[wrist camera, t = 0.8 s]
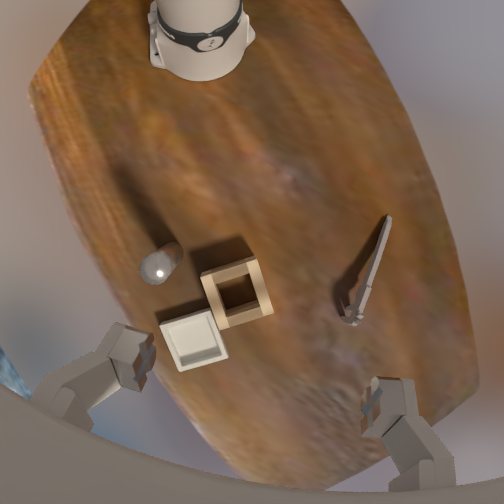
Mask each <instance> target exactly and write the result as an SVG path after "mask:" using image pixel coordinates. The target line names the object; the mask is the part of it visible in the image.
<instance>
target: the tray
mask: <svg viewBox="0 0 504 504" xmlns="http://www.w3.org/2000/svg"><path fill="white" fill-rule="evenodd" d="M160 328H161V331H162V333H163V336H164V338H165V340H166V343H167V345H168V347H169V350H170V352H171V354H172V357H173V359H174V361H175V363H176V365H177V368H178V370H179V372H180V371H184V370H188V369H192V368H195V367H199V366H202V365H206V364H209V363H213V362H216V361H220V360H223V359H226V358H228V351H227V349H226V346H225V344H224V341H223V338H222V336H221V333H220V330H219V328H218V325H217V322H216V320H215V317H214V314H213V312H212V309H211V307H209V308H206V309H202V310H199V311H196V312H193V313H190V314H186V315H183V316H180V317H176V318H173V319H170V320H167V321H163V322H161V324H160Z"/></svg>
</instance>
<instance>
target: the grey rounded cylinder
mask: <svg viewBox="0 0 504 504" xmlns="http://www.w3.org/2000/svg"><path fill="white" fill-rule="evenodd" d="M183 254H184V252H183V248H182V247H181V245H180V244H178V243H176V242H169V243H167V244H165V245H164V246H162V247H161V248H159V249H158V250H156V251H154V252H153V253H151V254H150V255H148V256H147V257H145V258H144V259H143V261H142V262H141V265H140V273H141V276H142V277H143V279H144V280H145V281H146V282H148V283H150V284H154V285H156V284H161V283H163V282H164V281H165V280H166V279H167V278H168V276H169V275H170V274H171V272H172V271H173V270H174V269H175V267H176V266H177V265H178V263H179V262H180V261H181V260H182V258H183Z"/></svg>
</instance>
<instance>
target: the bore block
mask: <svg viewBox="0 0 504 504" xmlns="http://www.w3.org/2000/svg"><path fill="white" fill-rule="evenodd" d="M248 273H249V275H250V278H251V281H252V284H253V287H254V290H255V293H256V296H257V299H258V300H255V301H252V302H249V303H246V304H243V305H240V306H237V307H233V308H230V309H227V310H226V309H225V306H224V303H223V301H222V298H221V295H220V292H219V289H218V286H217V283H220V282H223V281H227V280H230V279H233V278H236V277H239V276H242V275H245V274H248ZM200 278H201V281H202V284H203V287H204V290H205V292H206V295H207V298H208V301H209V303H210V306H211V309H212V312H213V314H214V317H215V320H216V322H217V325H218V328H219V330H222V329H226V328H229V327H232V326H235V325H238V324H241V323H244V322H248V321H251V320H254V319H257V318H260V317H263V316H266V315H269V314H272V313H274V311H273V308H272V305H271V302H270V299H269V296H268V292H267V289H266V286H265V283H264V280H263V277H262V273H261V270H260V267H259V264H258V261H257V258H256V257H255V256H251V257H248V258H244V259H241V260H238V261H235V262H232V263H229V264H226V265H223V266H220V267H217V268H214V269H211V270H208V271H205V272H202V273H201V276H200Z"/></svg>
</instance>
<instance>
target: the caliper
mask: <svg viewBox="0 0 504 504" xmlns="http://www.w3.org/2000/svg"><path fill="white" fill-rule="evenodd" d="M391 220H392V217H391V216H389V215H387V217H386V220H385V222H384V224H383V227H382V229H381V232H380V235H379V238H378V241H377V244H376V247H375V250H374V253H373V256H372V259H371V262H370V265H369V268H368V270H367V273H366V276H365V279H364V281H363V284H362V286H359V289H358V292H357V294H356V298H355V302H354V304H352V305H349V306H347V307H346V308H345V310H348V311H350V312H352V313H351V315H350V317H346V316H341V319H342V320H343V321H344V322H345V323H346V324H349V325H352V326H357V324H358V323H360V324H361V321H360V320H359V319H361V318H363V317H364V316H362V315H360V314H361V313H362V312H363V310H364V307H365V304H366V302H367V299H368V296H369V294H370V291H371V288H370V287H371V285H372V282H373V279H374V276H375V274H376V271H377V268H378V265H379V262H380V259H381V256H382V253H383V250H384V247H385V244H386V241H387V238H388V235H389V231H390V228H391V225H392V223H391Z"/></svg>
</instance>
